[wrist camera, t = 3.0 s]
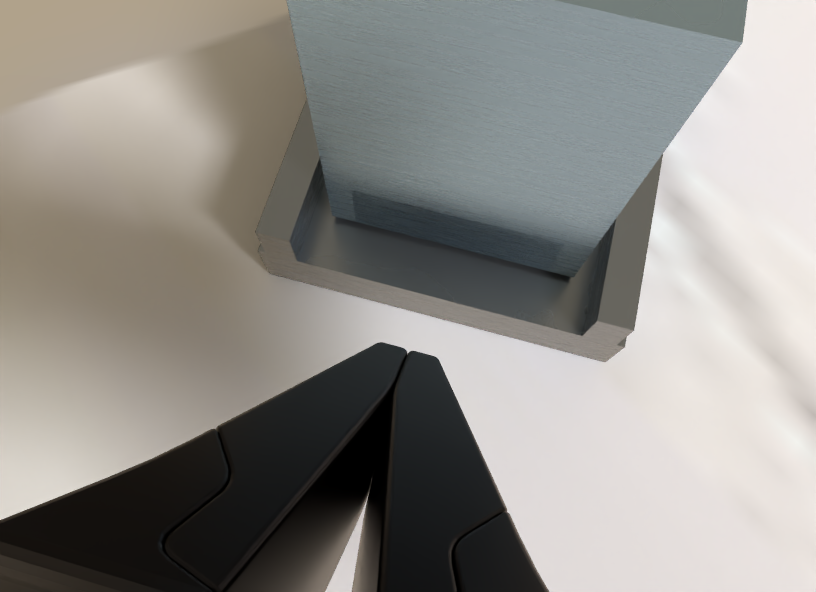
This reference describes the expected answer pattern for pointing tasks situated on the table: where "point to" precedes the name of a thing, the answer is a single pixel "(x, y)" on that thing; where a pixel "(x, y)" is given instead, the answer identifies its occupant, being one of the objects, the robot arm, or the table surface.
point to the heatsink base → (456, 265)
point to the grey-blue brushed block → (503, 112)
